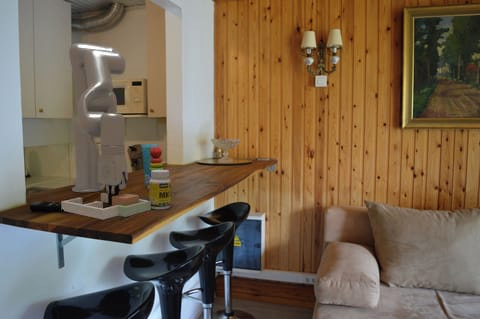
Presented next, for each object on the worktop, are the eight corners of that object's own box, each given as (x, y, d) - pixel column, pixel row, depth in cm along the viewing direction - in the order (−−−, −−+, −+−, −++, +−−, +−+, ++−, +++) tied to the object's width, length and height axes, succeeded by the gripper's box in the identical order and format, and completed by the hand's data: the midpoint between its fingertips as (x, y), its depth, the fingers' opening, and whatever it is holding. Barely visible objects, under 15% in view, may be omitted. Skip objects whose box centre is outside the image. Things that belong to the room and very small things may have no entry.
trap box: (60, 210, 119) (60, 201, 119) (103, 200, 134) (103, 192, 134) (109, 221, 107) (109, 211, 107) (150, 209, 122) (150, 201, 122)
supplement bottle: (160, 210, 121) (159, 172, 120) (144, 207, 125) (144, 170, 123) (175, 206, 127) (175, 170, 126) (159, 204, 131) (159, 168, 130)
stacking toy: (154, 187, 164) (154, 145, 162) (169, 188, 161) (169, 146, 159) (143, 190, 156) (143, 146, 154) (159, 191, 153) (159, 147, 152)
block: (112, 211, 120) (111, 196, 119) (126, 207, 125) (125, 193, 124) (125, 213, 117) (125, 198, 116) (138, 210, 122) (138, 195, 121)
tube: (157, 184, 172) (157, 143, 170) (158, 185, 168) (158, 144, 166) (141, 184, 170) (141, 143, 168) (142, 186, 165) (141, 144, 163)
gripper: (88, 150, 122) (89, 203, 124) (119, 152, 114) (120, 209, 116) (107, 148, 128) (107, 200, 130) (137, 151, 121) (137, 205, 123)
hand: (113, 204), depth 123 cm, fingers closed
